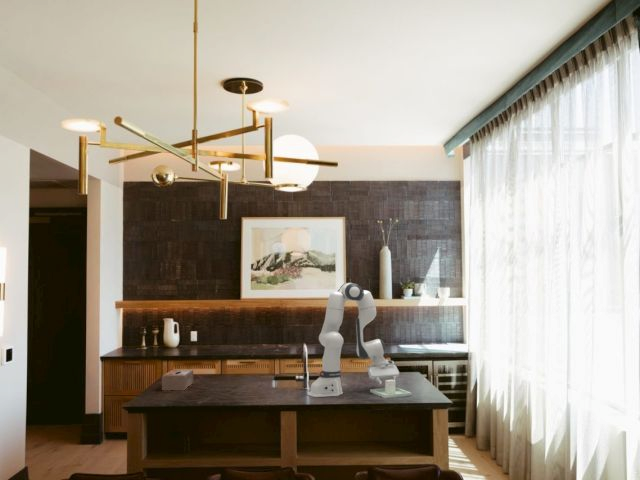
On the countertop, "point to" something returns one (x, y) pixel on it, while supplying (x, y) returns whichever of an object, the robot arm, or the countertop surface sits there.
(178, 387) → the tissue box cover
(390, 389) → the caddy
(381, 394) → the tray
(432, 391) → the countertop surface
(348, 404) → the countertop surface
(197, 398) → the countertop surface
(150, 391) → the countertop surface
